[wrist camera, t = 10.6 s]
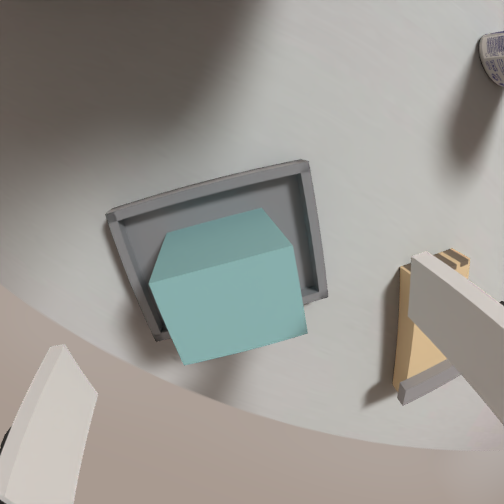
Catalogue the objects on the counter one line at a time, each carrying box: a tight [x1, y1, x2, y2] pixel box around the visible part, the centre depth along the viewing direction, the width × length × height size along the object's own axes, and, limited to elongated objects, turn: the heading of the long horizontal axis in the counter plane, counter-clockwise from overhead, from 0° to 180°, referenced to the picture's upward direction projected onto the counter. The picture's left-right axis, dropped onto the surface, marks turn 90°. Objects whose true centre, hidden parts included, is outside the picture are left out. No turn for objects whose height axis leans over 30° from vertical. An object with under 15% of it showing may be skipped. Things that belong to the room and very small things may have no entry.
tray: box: [105, 159, 328, 341], centre depth 19 cm, size 9×12×2 cm
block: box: [149, 208, 308, 365], centre depth 16 cm, size 4×6×7 cm
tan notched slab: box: [392, 248, 470, 405], centre depth 24 cm, size 14×8×4 cm, turn 12°
